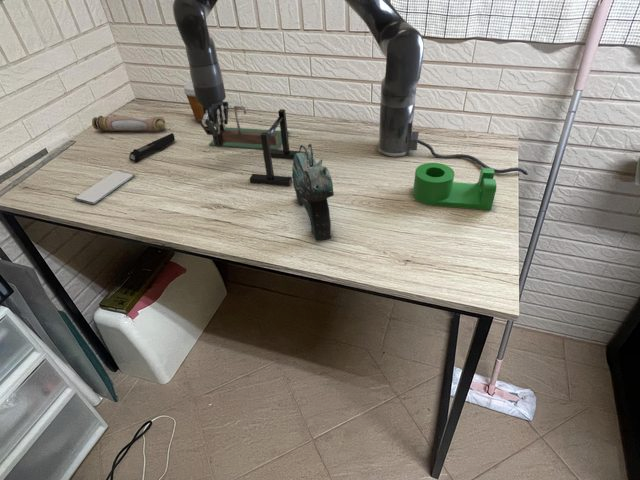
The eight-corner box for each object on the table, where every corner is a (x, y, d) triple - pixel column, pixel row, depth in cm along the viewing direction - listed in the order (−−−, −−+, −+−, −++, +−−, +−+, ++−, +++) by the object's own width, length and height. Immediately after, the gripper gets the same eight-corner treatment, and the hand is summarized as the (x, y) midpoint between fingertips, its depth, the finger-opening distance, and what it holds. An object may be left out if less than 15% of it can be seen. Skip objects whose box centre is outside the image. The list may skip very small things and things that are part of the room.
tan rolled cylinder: (103, 126, 146) (97, 112, 143) (171, 127, 143) (167, 113, 140) (94, 133, 142) (88, 119, 139) (164, 134, 139) (160, 120, 136)
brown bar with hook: (278, 142, 114) (273, 106, 108) (276, 145, 113) (271, 109, 106) (216, 138, 118) (208, 103, 112) (213, 141, 117) (205, 106, 110)
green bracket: (412, 203, 102) (414, 180, 98) (413, 183, 109) (416, 161, 105) (490, 210, 99) (496, 186, 95) (487, 189, 106) (493, 166, 101)
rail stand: (270, 153, 126) (264, 107, 117) (306, 156, 123) (302, 109, 114) (250, 183, 114) (241, 134, 105) (289, 186, 111) (284, 137, 102)
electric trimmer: (179, 143, 134) (176, 134, 132) (136, 163, 125) (132, 153, 123) (171, 140, 136) (169, 131, 134) (129, 160, 127) (125, 150, 125)
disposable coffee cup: (186, 123, 145) (176, 88, 137) (201, 112, 152) (193, 78, 144) (209, 127, 142) (201, 91, 134) (224, 115, 149) (217, 81, 141)
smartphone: (73, 198, 111) (115, 170, 121) (74, 199, 111) (116, 171, 122) (93, 203, 109) (134, 174, 119) (93, 205, 109) (135, 175, 119)
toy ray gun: (338, 242, 93) (335, 160, 80) (309, 248, 92) (302, 167, 79) (313, 194, 108) (307, 119, 95) (288, 199, 107) (279, 124, 94)
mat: (288, 133, 136) (288, 131, 135) (277, 150, 127) (276, 149, 126) (225, 128, 140) (224, 127, 140) (209, 145, 131) (209, 144, 131)
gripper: (209, 92, 101) (223, 157, 112) (232, 72, 111) (243, 134, 122) (180, 90, 102) (197, 155, 113) (205, 71, 113) (218, 132, 124)
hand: (221, 144), depth 118 cm, fingers closed on brown bar with hook, 2 cm apart
